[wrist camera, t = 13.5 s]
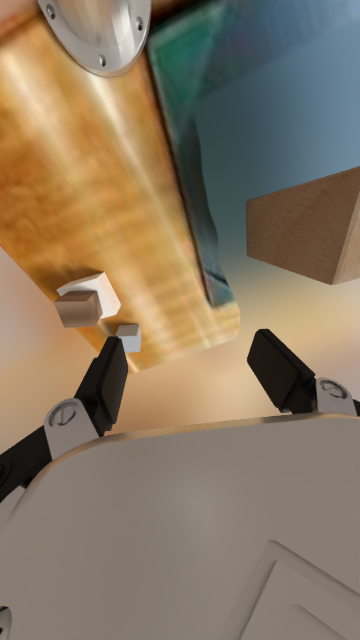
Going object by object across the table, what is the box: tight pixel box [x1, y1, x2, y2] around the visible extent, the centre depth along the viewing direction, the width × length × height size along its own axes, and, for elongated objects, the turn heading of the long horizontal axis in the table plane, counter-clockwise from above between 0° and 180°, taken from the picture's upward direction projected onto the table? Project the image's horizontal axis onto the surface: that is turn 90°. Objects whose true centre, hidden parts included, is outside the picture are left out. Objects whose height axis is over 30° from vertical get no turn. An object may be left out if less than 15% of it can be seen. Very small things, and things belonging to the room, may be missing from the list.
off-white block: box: [56, 272, 121, 319], centre depth 33 cm, size 8×8×5 cm
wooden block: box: [246, 166, 360, 285], centre depth 22 cm, size 10×10×20 cm
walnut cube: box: [54, 291, 103, 327], centre depth 29 cm, size 5×5×5 cm
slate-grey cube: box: [115, 324, 142, 353], centre depth 39 cm, size 5×5×5 cm
